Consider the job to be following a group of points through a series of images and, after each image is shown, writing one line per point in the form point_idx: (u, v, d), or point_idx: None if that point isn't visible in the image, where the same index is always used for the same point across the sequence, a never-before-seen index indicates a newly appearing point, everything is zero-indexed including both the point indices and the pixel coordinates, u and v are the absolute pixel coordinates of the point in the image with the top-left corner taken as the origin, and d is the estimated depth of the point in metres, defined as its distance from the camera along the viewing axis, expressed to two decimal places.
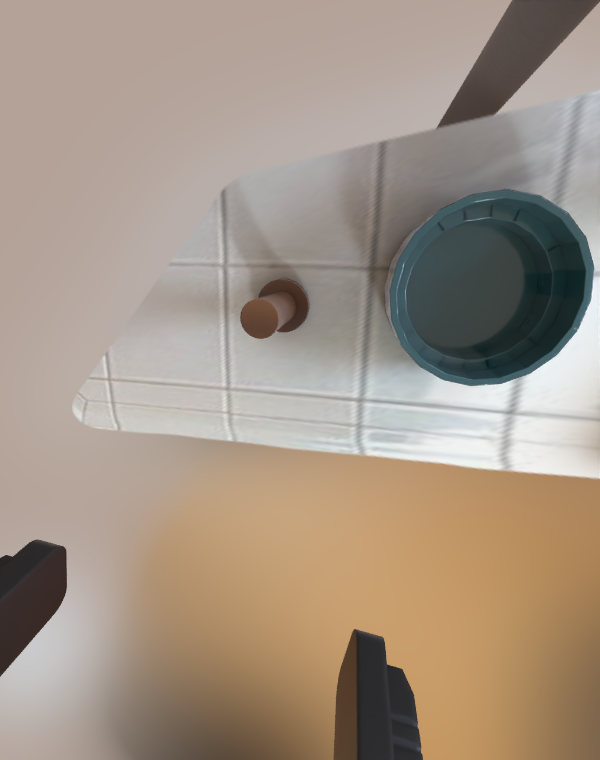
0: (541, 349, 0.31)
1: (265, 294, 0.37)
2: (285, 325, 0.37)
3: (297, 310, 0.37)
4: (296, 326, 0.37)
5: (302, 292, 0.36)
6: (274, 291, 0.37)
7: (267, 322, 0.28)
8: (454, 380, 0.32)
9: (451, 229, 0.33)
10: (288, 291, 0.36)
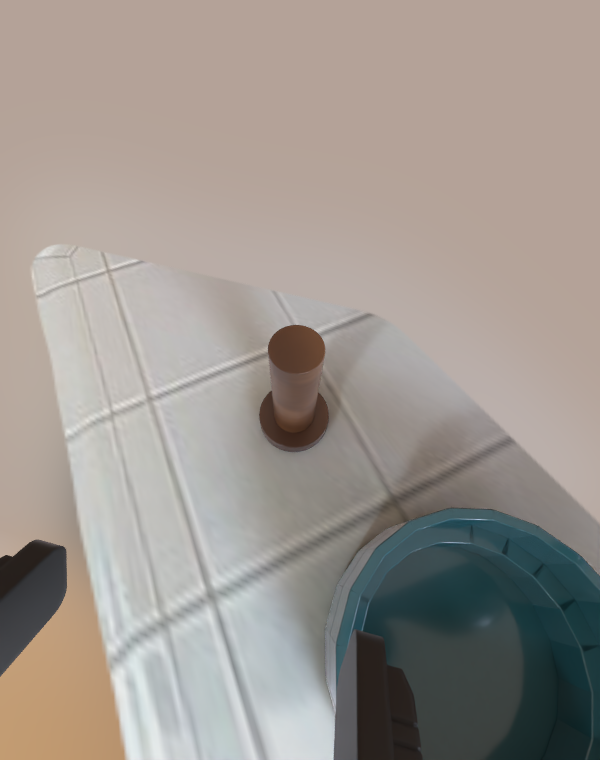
0: None
1: None
2: (273, 428, 0.27)
3: (299, 433, 0.27)
4: (278, 441, 0.27)
5: (323, 428, 0.27)
6: None
7: (298, 359, 0.19)
8: None
9: (499, 572, 0.24)
10: (315, 412, 0.28)
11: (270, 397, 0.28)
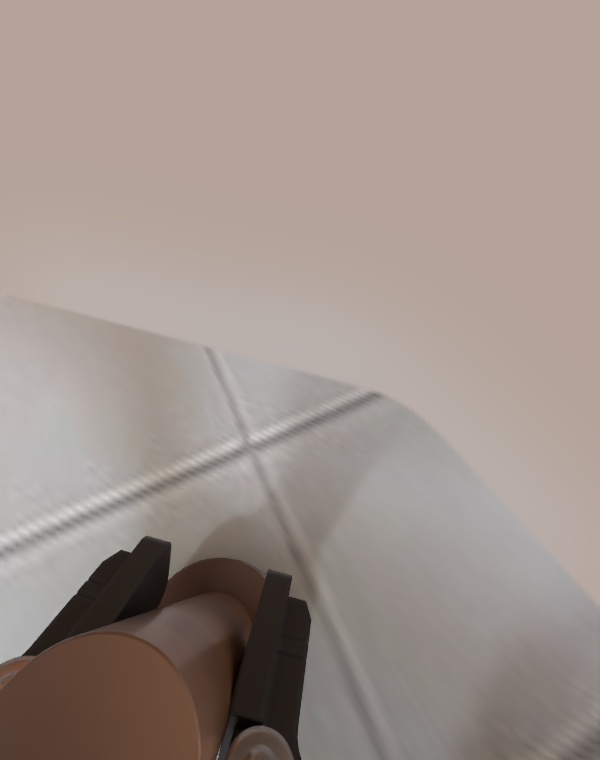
0: None
1: (225, 574, 0.14)
2: None
3: None
4: None
5: None
6: (242, 596, 0.13)
7: None
8: None
9: None
10: None
11: (166, 596, 0.13)
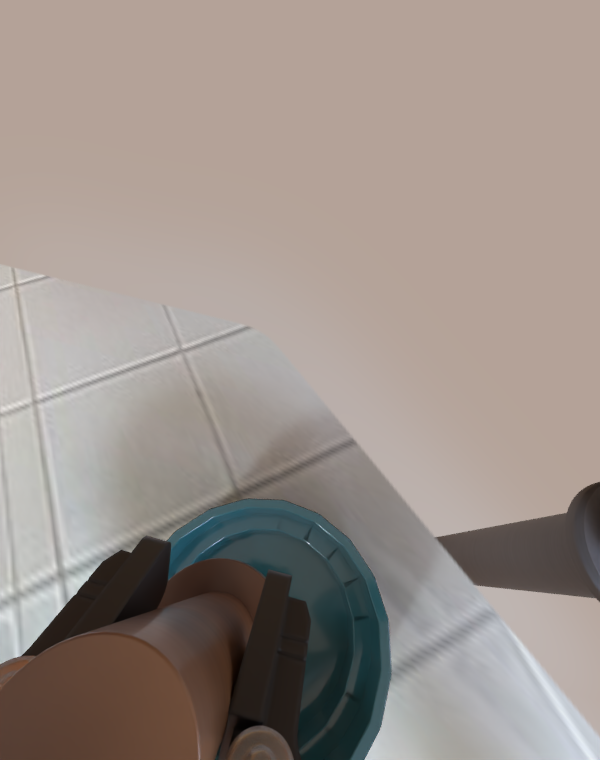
0: None
1: (225, 575, 0.14)
2: None
3: None
4: None
5: None
6: (242, 596, 0.13)
7: None
8: None
9: (315, 556, 0.27)
10: None
11: (165, 596, 0.13)
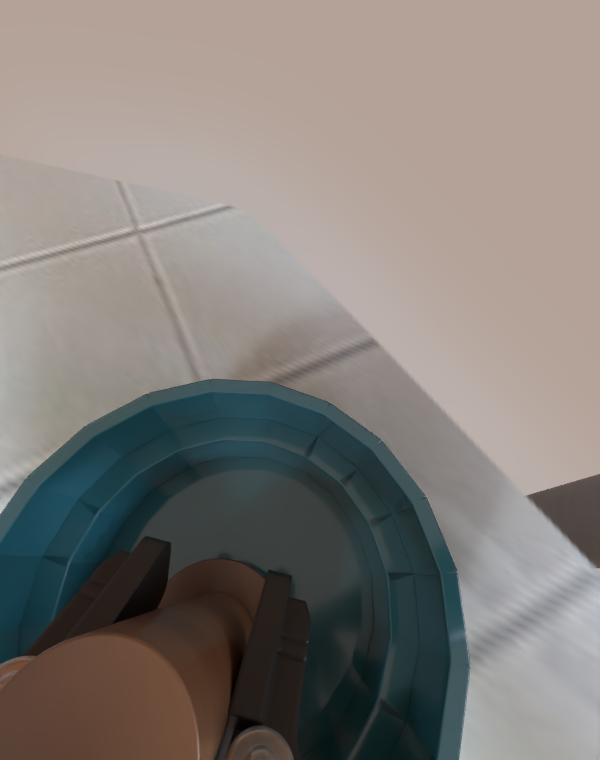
0: None
1: (225, 575, 0.14)
2: None
3: None
4: None
5: None
6: (242, 596, 0.13)
7: None
8: None
9: (321, 491, 0.18)
10: None
11: (165, 597, 0.13)
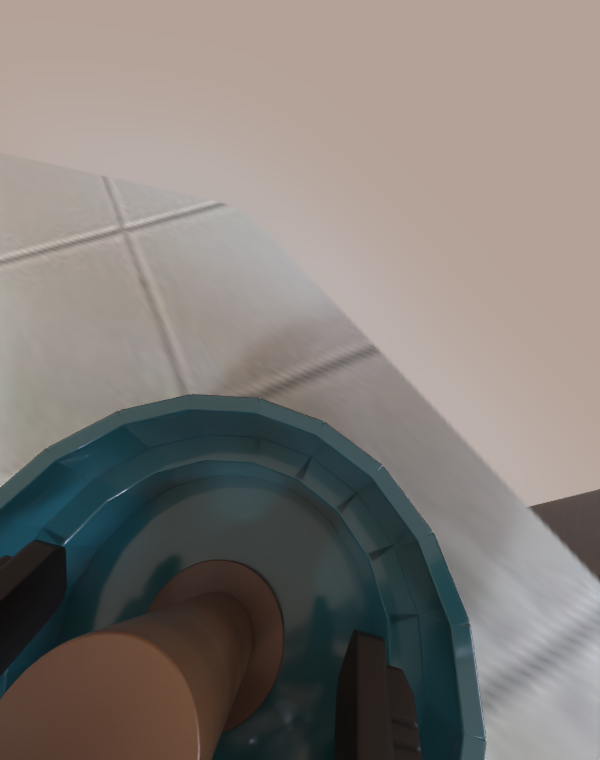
0: None
1: (224, 575, 0.14)
2: None
3: None
4: None
5: (270, 682, 0.13)
6: (241, 596, 0.14)
7: None
8: None
9: (316, 515, 0.16)
10: (256, 637, 0.13)
11: (166, 597, 0.14)
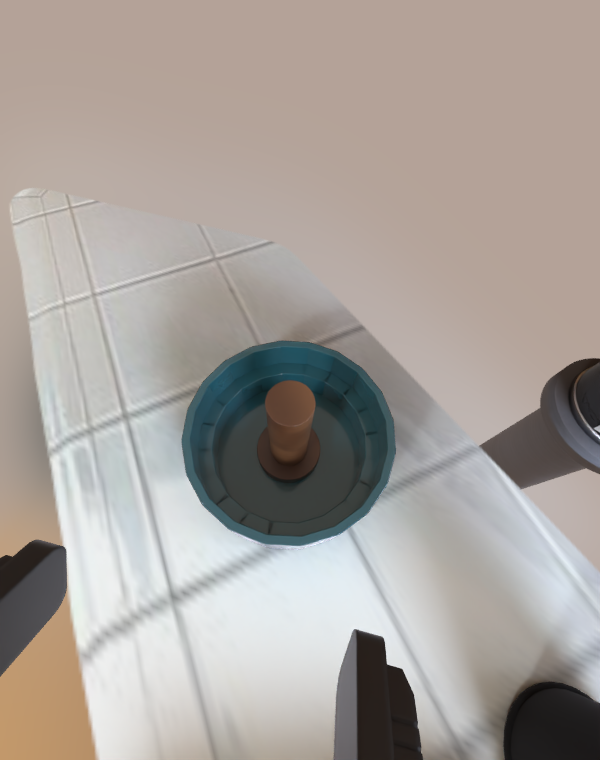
0: None
1: None
2: (269, 461, 0.30)
3: (293, 466, 0.30)
4: (274, 474, 0.29)
5: (315, 462, 0.30)
6: None
7: (291, 412, 0.22)
8: (185, 452, 0.26)
9: (332, 405, 0.33)
10: (308, 447, 0.30)
11: (267, 432, 0.31)
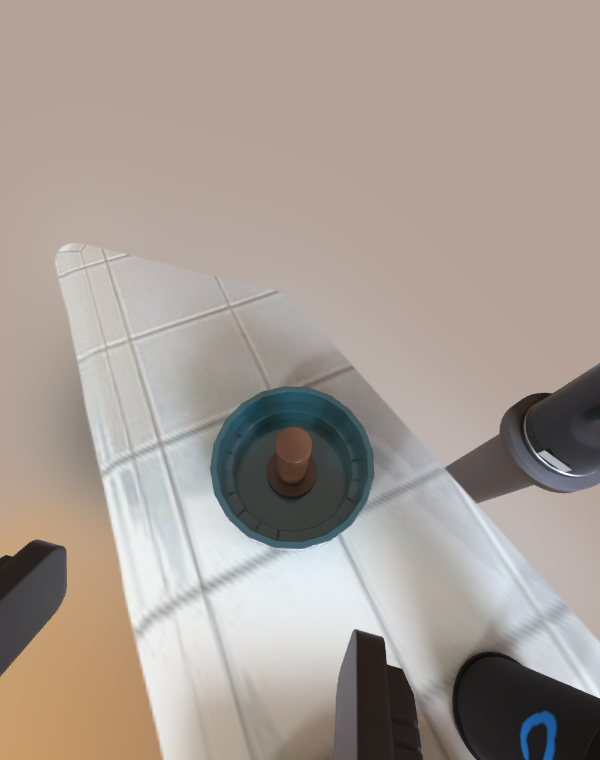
0: None
1: None
2: (276, 481, 0.38)
3: (295, 486, 0.38)
4: (280, 492, 0.37)
5: (312, 482, 0.38)
6: None
7: (294, 452, 0.30)
8: (213, 477, 0.34)
9: (327, 434, 0.41)
10: (307, 470, 0.38)
11: (274, 458, 0.39)
